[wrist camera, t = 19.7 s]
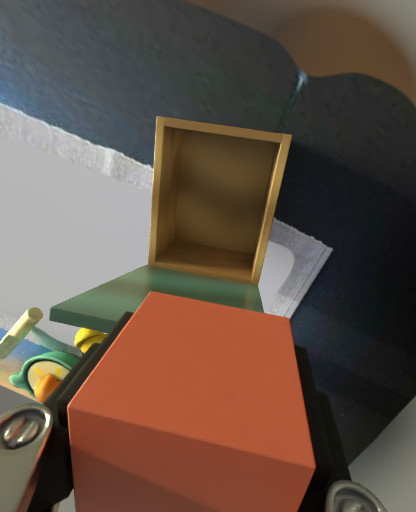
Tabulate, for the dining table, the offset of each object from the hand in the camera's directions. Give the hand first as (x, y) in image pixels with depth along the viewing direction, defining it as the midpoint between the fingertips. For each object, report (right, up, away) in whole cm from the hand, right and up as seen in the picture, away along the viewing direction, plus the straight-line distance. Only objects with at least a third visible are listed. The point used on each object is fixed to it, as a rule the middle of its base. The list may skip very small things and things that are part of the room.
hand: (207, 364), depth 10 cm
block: (0, 0, 0) cm, 0 cm away
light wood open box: (+2, +12, +27) cm, 30 cm away
